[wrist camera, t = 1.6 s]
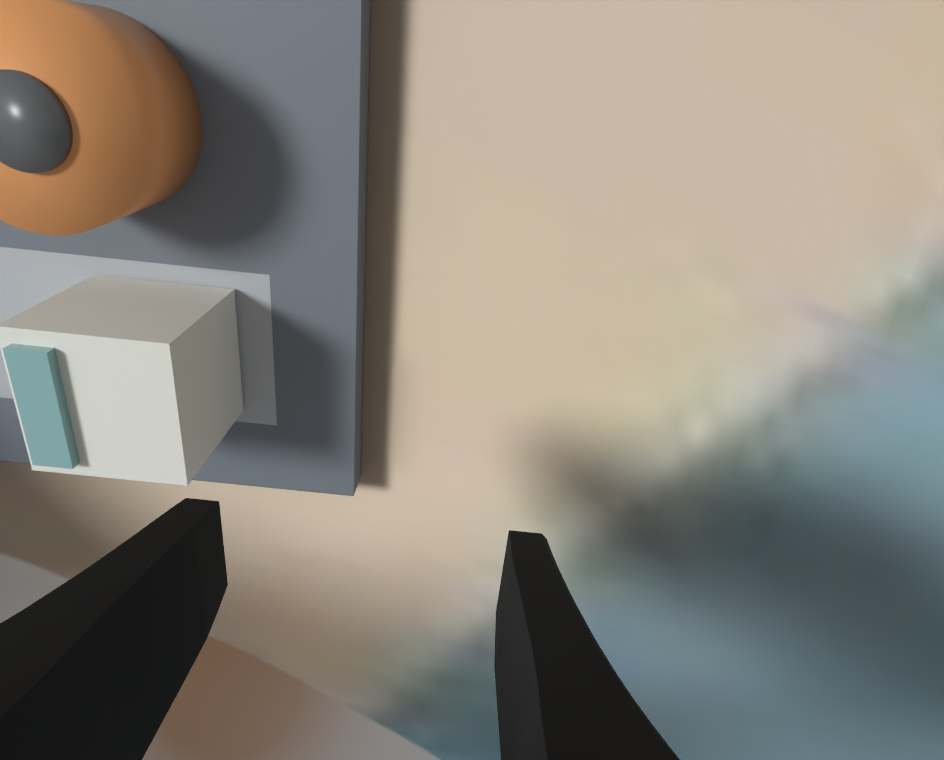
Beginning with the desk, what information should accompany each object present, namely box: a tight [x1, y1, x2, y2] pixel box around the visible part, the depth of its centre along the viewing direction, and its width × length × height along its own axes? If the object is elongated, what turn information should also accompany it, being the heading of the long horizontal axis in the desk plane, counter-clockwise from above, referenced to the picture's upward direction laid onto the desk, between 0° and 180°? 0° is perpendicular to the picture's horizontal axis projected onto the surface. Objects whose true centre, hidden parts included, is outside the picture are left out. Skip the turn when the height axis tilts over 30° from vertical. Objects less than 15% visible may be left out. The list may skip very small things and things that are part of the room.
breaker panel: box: [0, 0, 371, 496], centre depth 16 cm, size 18×24×2 cm
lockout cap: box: [0, 0, 202, 236], centre depth 15 cm, size 5×5×3 cm
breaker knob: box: [0, 275, 243, 486], centre depth 17 cm, size 4×4×4 cm
